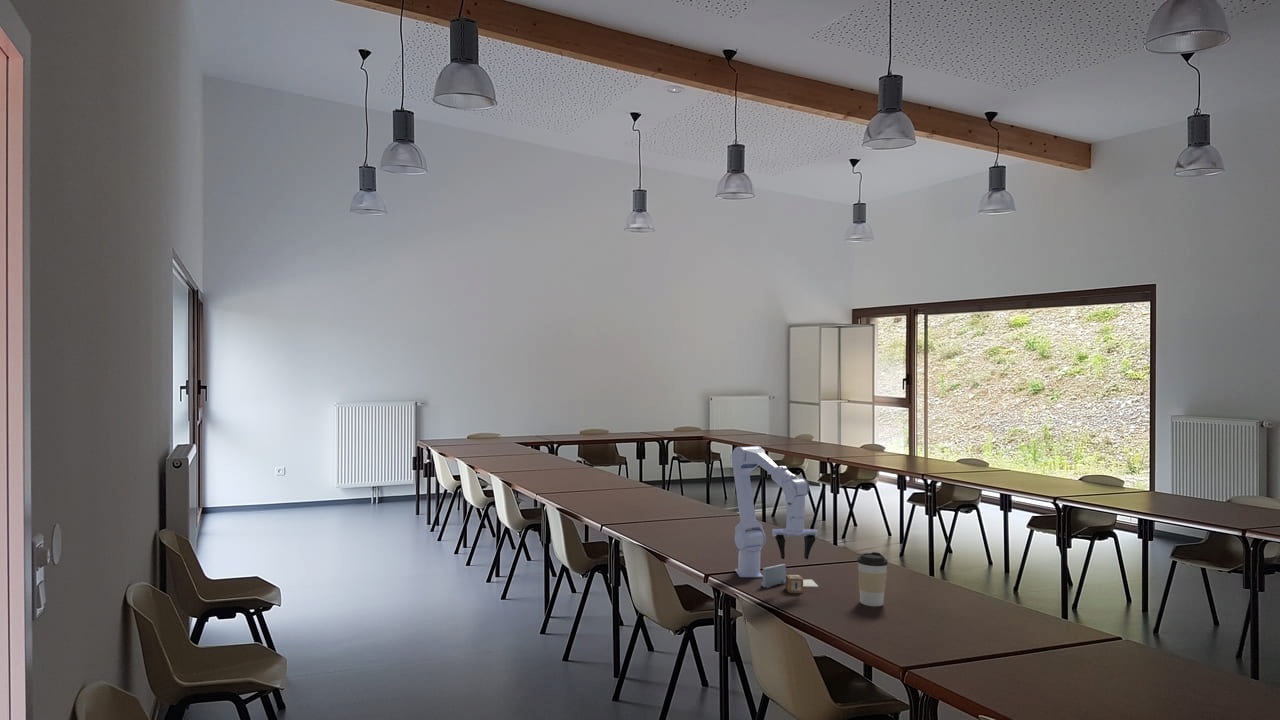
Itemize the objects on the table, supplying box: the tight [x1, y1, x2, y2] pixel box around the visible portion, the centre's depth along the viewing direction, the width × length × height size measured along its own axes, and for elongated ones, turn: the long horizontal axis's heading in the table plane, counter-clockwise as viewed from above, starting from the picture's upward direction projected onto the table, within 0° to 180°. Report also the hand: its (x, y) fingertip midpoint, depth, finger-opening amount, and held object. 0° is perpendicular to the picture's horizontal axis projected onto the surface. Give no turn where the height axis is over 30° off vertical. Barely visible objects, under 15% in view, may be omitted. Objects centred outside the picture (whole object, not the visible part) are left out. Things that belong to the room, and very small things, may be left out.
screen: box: [760, 563, 787, 589], centre depth 276 cm, size 3×10×6 cm, turn 129°
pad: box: [803, 578, 819, 588], centre depth 278 cm, size 8×8×1 cm
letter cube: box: [785, 574, 804, 594], centre depth 269 cm, size 5×5×5 cm
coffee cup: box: [856, 551, 889, 607], centre depth 258 cm, size 9×9×15 cm
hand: (794, 558), depth 269 cm, fingers open, 7 cm apart
